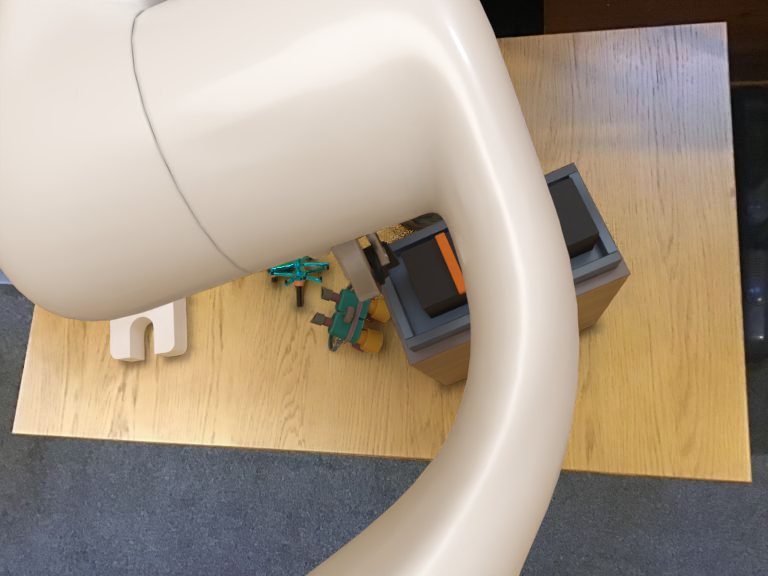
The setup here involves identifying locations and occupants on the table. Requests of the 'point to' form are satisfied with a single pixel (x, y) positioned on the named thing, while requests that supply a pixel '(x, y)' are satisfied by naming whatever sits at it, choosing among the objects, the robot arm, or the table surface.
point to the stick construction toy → (297, 274)
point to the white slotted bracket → (166, 332)
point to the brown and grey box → (452, 329)
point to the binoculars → (352, 320)
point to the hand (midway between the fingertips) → (352, 207)
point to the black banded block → (436, 275)
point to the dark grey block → (574, 218)
